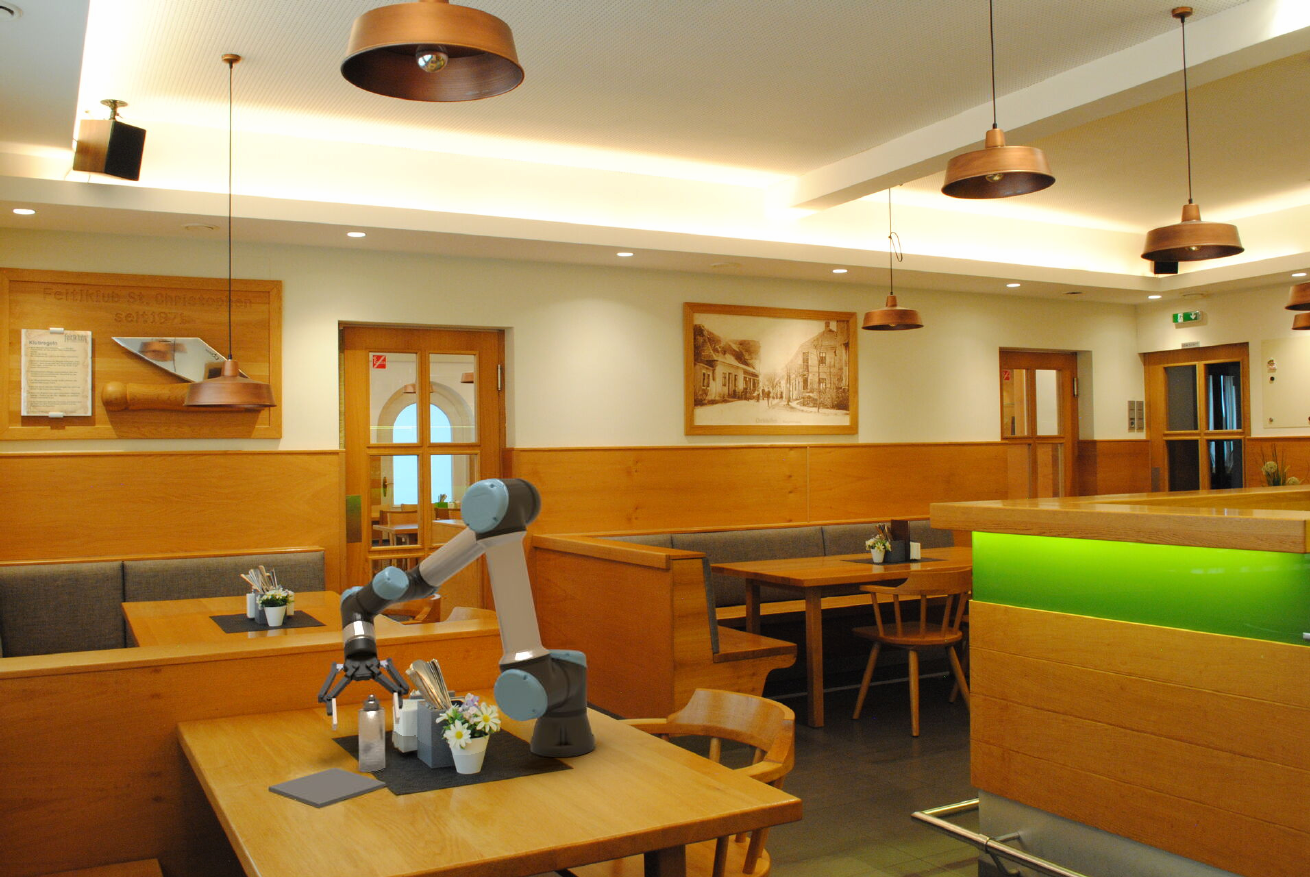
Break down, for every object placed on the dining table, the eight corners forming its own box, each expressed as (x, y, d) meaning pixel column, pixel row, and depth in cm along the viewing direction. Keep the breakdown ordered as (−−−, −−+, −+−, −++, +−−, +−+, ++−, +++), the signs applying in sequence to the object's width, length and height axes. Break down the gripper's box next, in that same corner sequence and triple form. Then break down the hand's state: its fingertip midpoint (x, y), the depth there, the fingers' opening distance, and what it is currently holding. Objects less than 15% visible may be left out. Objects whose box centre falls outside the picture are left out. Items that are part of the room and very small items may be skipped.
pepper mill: (390, 767, 223) (389, 693, 223) (369, 774, 218) (368, 698, 219) (374, 763, 226) (374, 690, 227) (353, 769, 222) (353, 695, 222)
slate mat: (386, 786, 210) (386, 782, 210) (319, 808, 197) (319, 803, 197) (335, 771, 221) (335, 767, 221) (268, 790, 208) (268, 786, 208)
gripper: (411, 650, 247) (421, 726, 232) (304, 658, 237) (307, 738, 223) (414, 632, 242) (424, 709, 227) (305, 640, 232) (308, 720, 218)
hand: (366, 724), depth 225 cm, fingers open, 13 cm apart
